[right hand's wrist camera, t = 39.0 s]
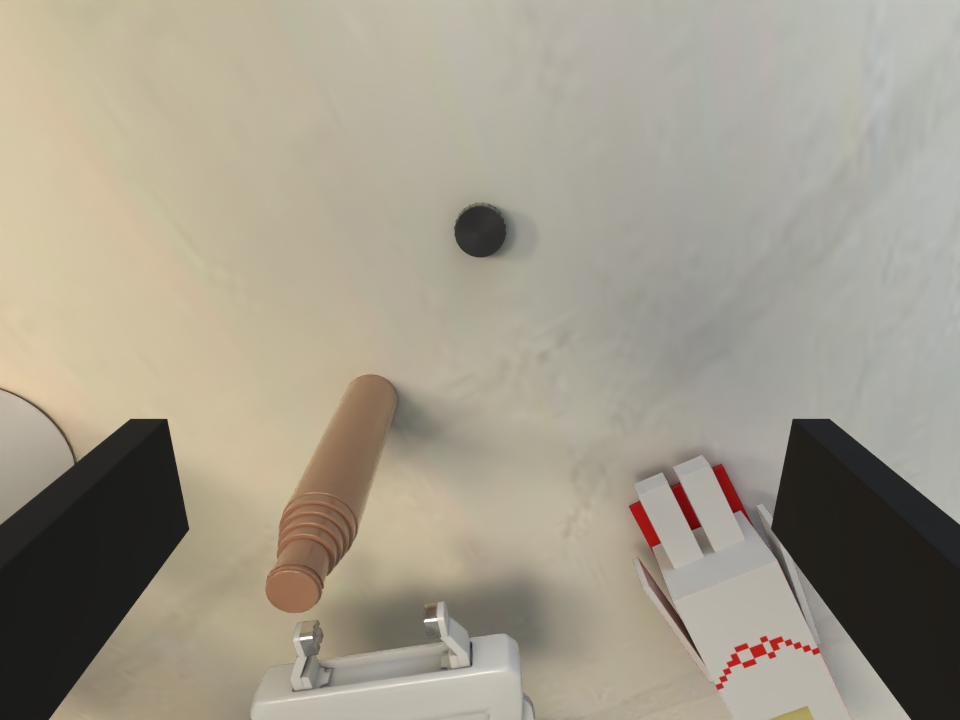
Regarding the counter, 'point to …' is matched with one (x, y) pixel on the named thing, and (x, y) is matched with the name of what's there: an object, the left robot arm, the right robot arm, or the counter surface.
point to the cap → (480, 230)
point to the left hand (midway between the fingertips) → (369, 618)
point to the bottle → (331, 495)
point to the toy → (733, 597)
